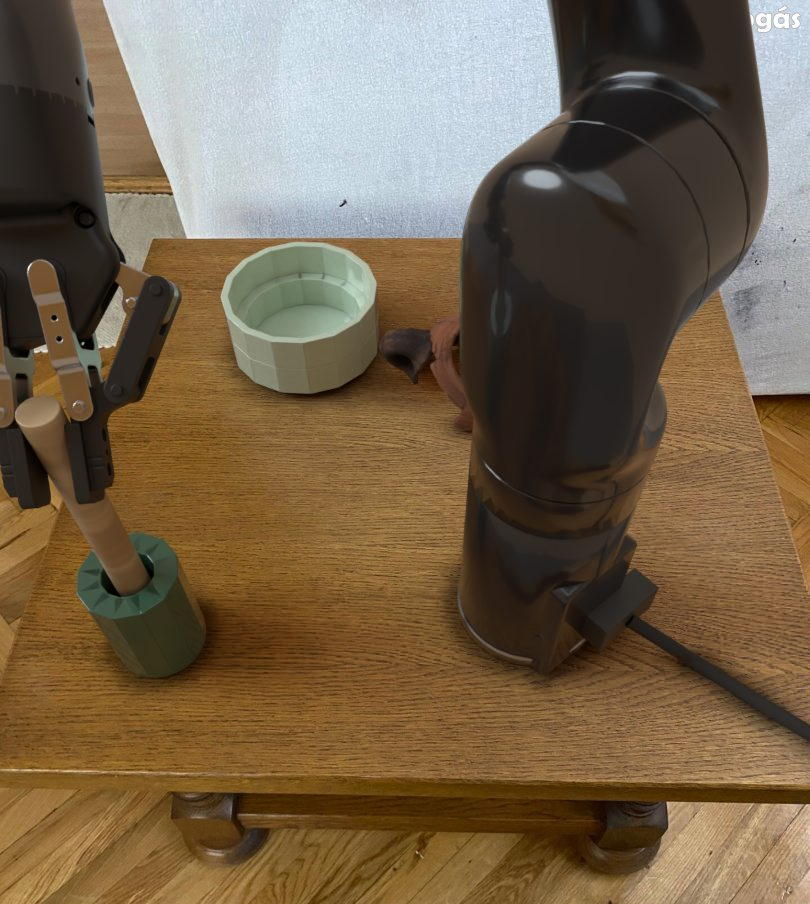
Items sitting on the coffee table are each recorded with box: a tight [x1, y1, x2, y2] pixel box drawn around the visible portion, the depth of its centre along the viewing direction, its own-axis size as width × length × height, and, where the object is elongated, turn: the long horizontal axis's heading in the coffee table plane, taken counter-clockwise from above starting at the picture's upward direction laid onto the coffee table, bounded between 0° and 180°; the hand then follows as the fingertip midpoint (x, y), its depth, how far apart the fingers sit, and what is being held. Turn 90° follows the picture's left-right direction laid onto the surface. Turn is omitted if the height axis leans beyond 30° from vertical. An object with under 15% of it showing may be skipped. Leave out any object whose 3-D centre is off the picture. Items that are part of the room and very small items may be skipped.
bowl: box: [220, 241, 380, 395], centre depth 67 cm, size 12×12×6 cm
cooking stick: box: [15, 394, 151, 597], centre depth 43 cm, size 2×2×16 cm
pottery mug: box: [378, 311, 473, 431], centre depth 65 cm, size 12×10×8 cm
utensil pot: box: [76, 531, 207, 679], centre depth 51 cm, size 6×6×8 cm
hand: (64, 502), depth 39 cm, fingers closed on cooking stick, 2 cm apart
